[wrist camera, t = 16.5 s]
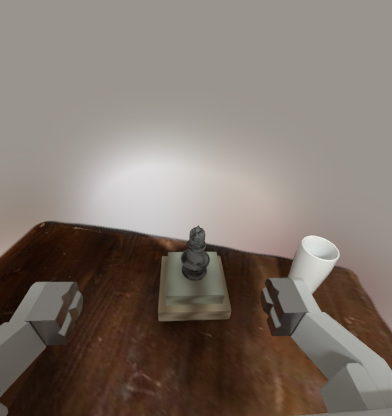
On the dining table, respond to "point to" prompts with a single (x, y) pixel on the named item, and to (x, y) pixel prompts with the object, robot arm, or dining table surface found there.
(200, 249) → the dark grey ornamental finial
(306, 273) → the drinking glass
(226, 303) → the brick tower base
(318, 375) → the dining table surface
